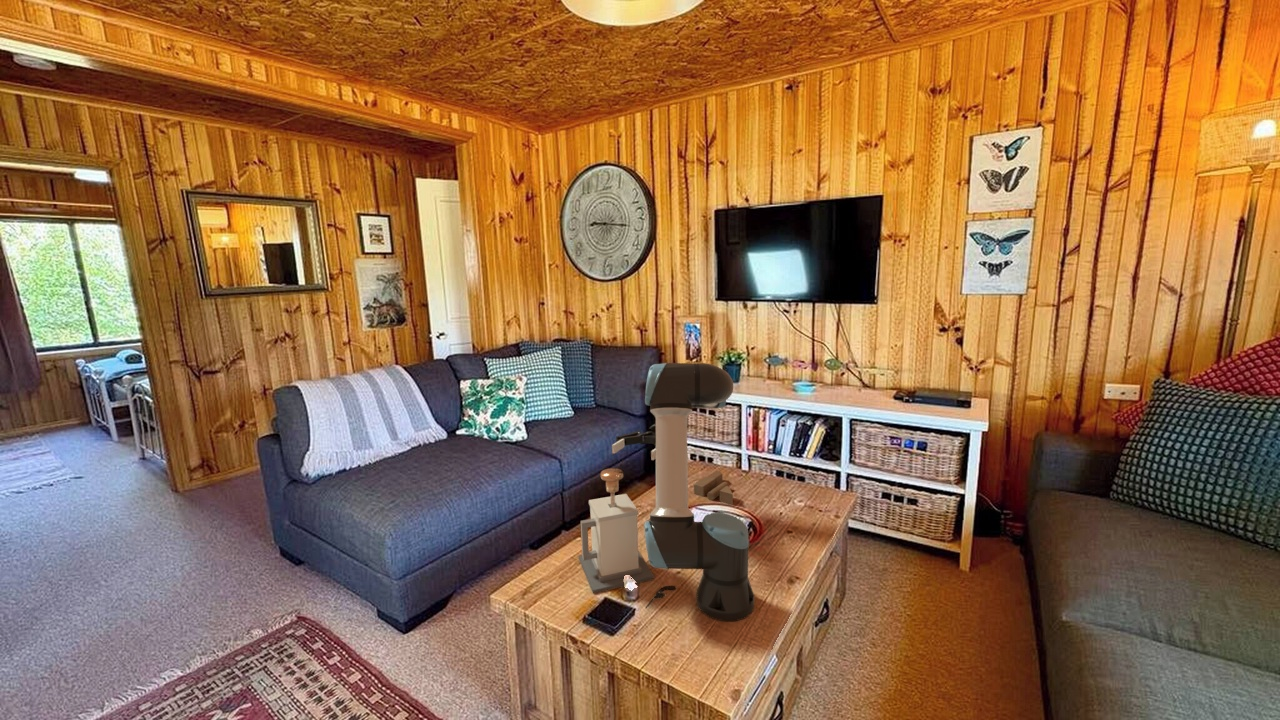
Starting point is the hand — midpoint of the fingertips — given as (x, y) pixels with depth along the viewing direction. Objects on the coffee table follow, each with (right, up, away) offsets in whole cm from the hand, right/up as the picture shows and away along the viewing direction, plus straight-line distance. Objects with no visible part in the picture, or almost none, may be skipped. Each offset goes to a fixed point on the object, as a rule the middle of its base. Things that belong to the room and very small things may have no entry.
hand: (632, 452), depth 156 cm
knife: (+7, -37, -19) cm, 42 cm away
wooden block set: (+35, -24, +44) cm, 61 cm away
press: (-7, -33, -5) cm, 34 cm away
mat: (-5, -34, -5) cm, 34 cm away
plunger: (-5, -26, -6) cm, 27 cm away
